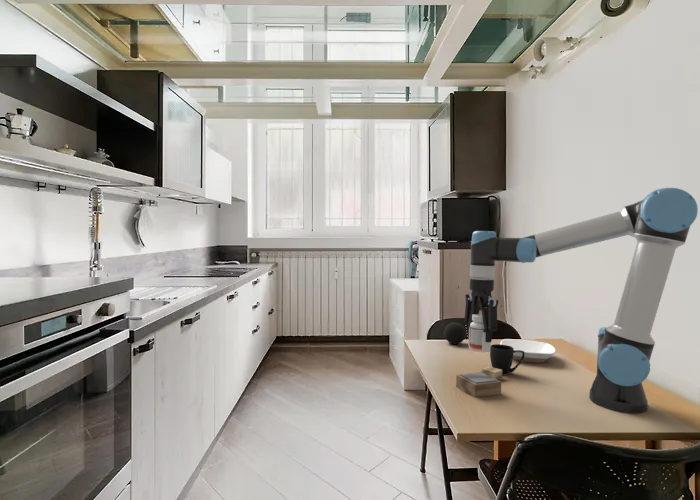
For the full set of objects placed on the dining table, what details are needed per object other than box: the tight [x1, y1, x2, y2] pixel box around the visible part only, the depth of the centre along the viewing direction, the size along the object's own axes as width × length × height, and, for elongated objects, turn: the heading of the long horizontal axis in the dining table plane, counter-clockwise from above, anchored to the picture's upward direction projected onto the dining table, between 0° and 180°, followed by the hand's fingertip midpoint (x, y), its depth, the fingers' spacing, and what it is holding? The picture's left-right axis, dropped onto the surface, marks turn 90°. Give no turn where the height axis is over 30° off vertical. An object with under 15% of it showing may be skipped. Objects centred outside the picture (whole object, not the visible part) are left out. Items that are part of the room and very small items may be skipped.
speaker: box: [443, 321, 467, 345], centre depth 200 cm, size 10×10×10 cm
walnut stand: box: [455, 371, 502, 398], centre depth 138 cm, size 10×10×4 cm
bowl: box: [499, 338, 557, 364], centre depth 179 cm, size 22×22×5 cm
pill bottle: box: [468, 313, 484, 353], centre depth 138 cm, size 6×6×11 cm
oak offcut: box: [481, 366, 503, 380], centre depth 151 cm, size 5×5×3 cm
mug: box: [489, 343, 525, 376], centre depth 157 cm, size 8×12×10 cm
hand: (479, 348), depth 138 cm, fingers closed on pill bottle, 6 cm apart
